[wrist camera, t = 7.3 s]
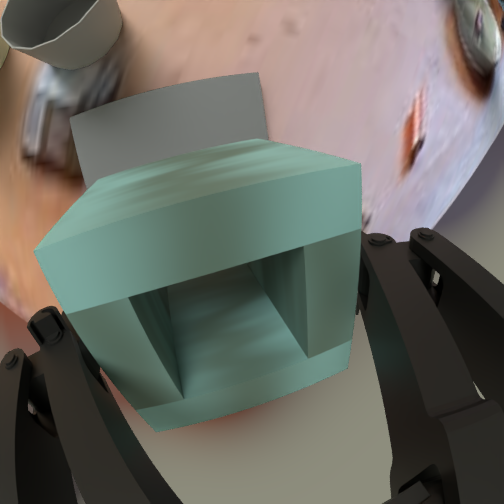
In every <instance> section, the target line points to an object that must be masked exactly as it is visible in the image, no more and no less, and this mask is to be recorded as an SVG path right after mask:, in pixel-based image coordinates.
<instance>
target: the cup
mask: <svg viewBox="0 0 504 504" xmlns="http://www.w3.org/2000/svg"><path fill="white" fill-rule="evenodd" d="M0 21H1V37H2V38H3V39H4V40H5V41H6V42H7V43H8V44H9V46H10V47H11V48H13V49H15V50H18V51H20V52H23V53H25V54H27V55H30V56H32V57H34V58H36V59H39V60H41V61H43V62H45V63H48V64H50V65H52V66H54V67H56V68H61V69H67V70H75V69H78V68H82V67H86V66H90V65H91V64H92V63H94V62H95V61H97V60H98V59H100V58H101V57H103V56H104V55H106V54H107V52H108V51H109V50H110V48H111V47H112V46H113V45H114V43H115V42H116V41H117V40H118V37H119V34H120V30H121V27H122V24H123V22H122V18H121V13H120V9H119V6H118V3H117V0H8V1H7V4H6V6H5V9H4V11H3V14H2V16H1V19H0Z"/></svg>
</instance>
